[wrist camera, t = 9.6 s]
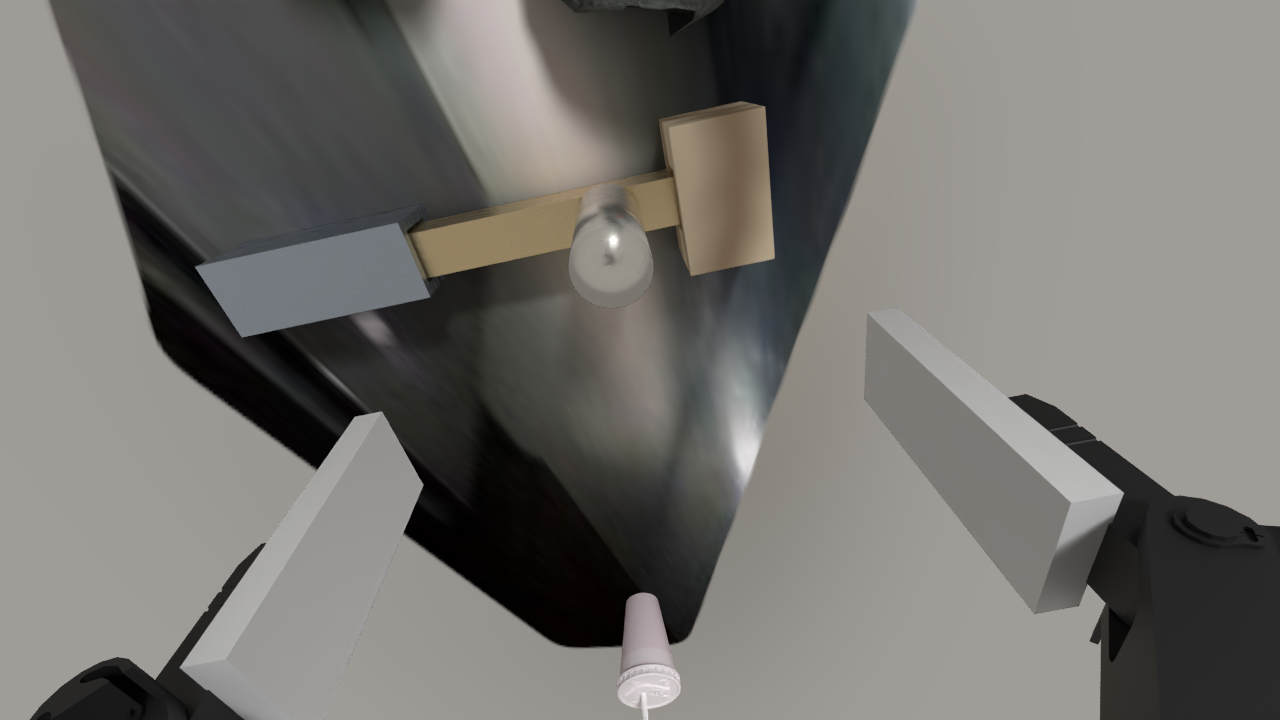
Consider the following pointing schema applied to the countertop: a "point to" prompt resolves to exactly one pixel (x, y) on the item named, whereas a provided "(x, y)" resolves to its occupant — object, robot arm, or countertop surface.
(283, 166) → the countertop surface
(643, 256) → the bar with upright post
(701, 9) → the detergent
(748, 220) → the socket block
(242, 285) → the sleeve
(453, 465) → the countertop surface
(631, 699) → the smoothie
